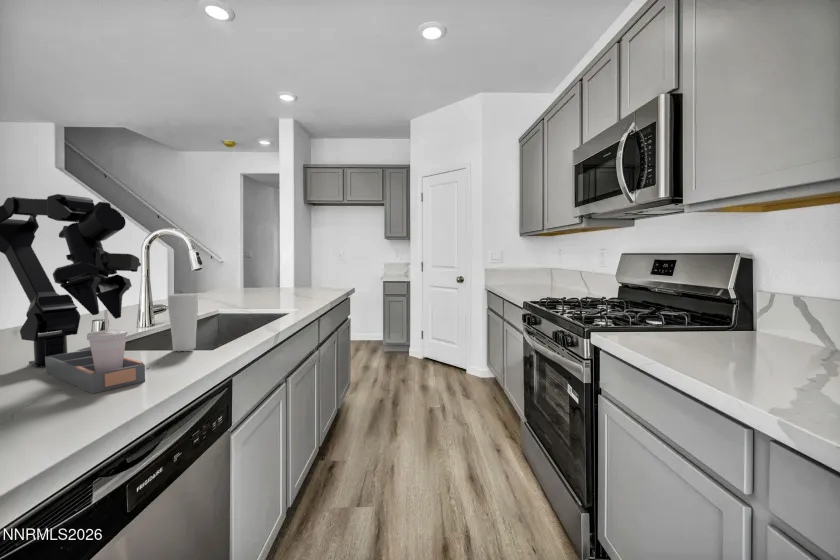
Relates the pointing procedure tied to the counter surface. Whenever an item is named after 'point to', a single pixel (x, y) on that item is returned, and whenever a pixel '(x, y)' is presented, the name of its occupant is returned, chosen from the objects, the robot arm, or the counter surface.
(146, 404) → the counter surface
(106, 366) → the smoothie
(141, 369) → the bottle caddy
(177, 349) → the drinking glass
